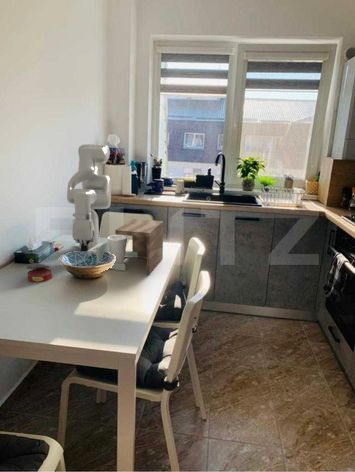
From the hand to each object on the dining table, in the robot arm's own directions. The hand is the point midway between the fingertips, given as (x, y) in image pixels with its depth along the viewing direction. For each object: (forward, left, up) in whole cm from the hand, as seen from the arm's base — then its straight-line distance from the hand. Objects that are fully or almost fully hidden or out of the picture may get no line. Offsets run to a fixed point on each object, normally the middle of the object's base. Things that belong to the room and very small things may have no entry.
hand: (84, 252), depth 180 cm
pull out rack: (+15, 0, -4) cm, 15 cm away
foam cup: (+17, 0, -4) cm, 18 cm away
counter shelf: (+29, 0, -4) cm, 30 cm away
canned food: (-8, -28, -4) cm, 29 cm away
